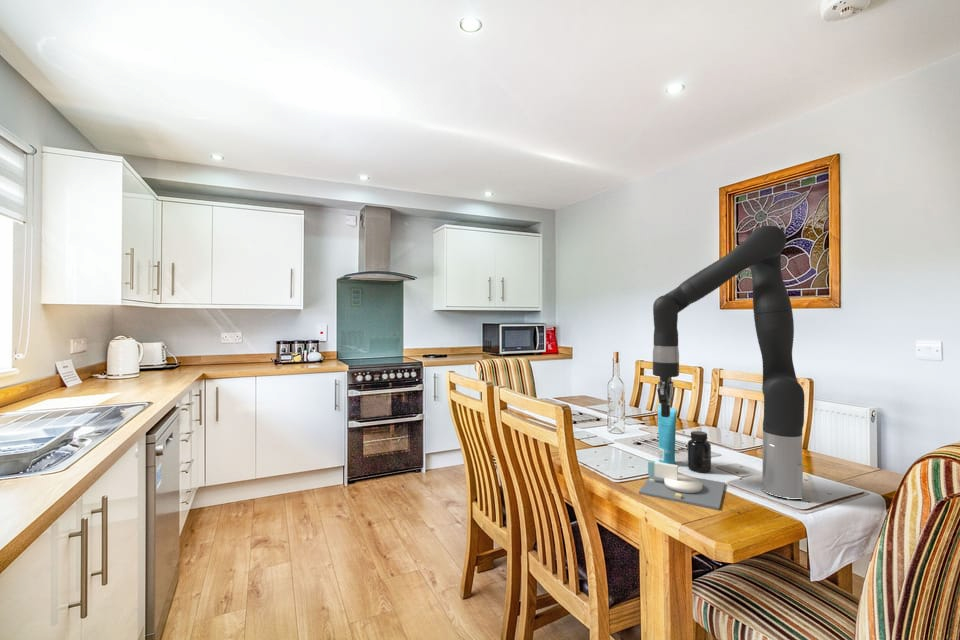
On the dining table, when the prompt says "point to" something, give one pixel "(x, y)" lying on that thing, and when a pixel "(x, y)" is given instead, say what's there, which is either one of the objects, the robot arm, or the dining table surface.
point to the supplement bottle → (699, 452)
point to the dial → (674, 477)
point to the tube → (667, 436)
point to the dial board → (704, 498)
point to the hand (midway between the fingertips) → (665, 416)
